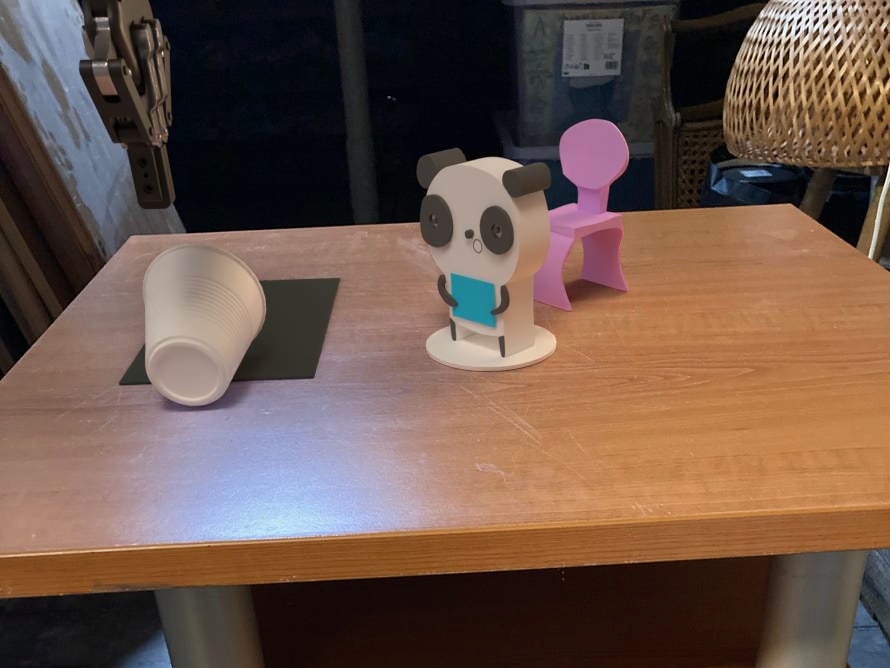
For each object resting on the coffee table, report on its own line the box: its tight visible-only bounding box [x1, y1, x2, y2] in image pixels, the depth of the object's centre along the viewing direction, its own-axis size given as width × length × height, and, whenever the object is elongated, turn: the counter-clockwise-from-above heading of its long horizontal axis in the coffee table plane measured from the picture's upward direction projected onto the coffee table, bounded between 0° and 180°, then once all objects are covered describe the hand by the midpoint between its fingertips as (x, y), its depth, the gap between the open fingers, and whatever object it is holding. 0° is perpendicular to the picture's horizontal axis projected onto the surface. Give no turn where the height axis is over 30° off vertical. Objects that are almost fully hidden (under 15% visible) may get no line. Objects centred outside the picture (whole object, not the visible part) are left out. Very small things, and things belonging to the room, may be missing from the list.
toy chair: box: [533, 118, 630, 312], centre depth 93 cm, size 8×9×15 cm
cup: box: [141, 242, 266, 407], centre depth 78 cm, size 10×10×11 cm
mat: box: [118, 277, 341, 386], centre depth 92 cm, size 26×16×1 cm, turn 2°
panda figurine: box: [416, 147, 557, 372], centre depth 82 cm, size 12×11×15 cm
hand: (158, 206), depth 68 cm, fingers closed
